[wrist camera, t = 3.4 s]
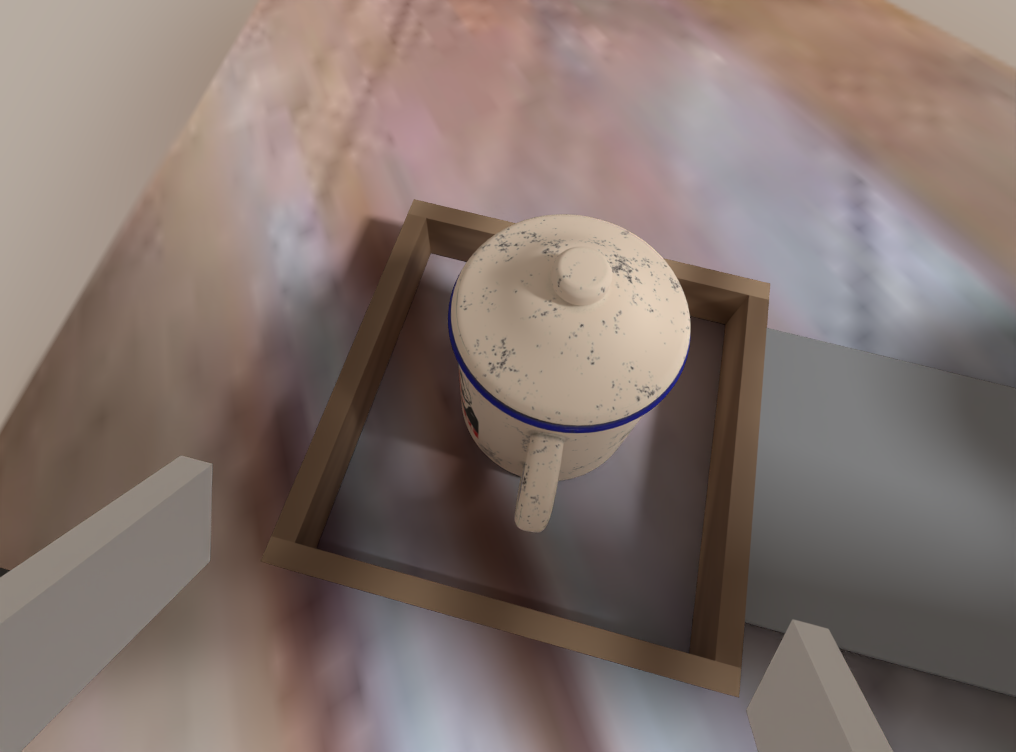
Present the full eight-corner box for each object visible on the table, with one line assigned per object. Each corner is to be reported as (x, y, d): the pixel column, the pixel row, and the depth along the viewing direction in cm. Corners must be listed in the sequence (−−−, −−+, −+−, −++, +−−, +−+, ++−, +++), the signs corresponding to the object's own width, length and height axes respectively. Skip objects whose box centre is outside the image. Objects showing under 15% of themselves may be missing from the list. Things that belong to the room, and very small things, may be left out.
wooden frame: (744, 313, 31) (769, 283, 29) (709, 689, 24) (739, 697, 21) (419, 235, 33) (413, 199, 30) (284, 568, 25) (260, 561, 22)
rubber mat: (1041, 401, 30) (1051, 396, 29) (1088, 717, 24) (1103, 719, 23) (761, 333, 31) (766, 327, 30) (738, 620, 25) (744, 620, 24)
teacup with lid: (476, 309, 31) (475, 141, 20) (641, 339, 30) (727, 184, 20) (423, 529, 26) (383, 460, 15) (618, 568, 26) (717, 525, 15)
